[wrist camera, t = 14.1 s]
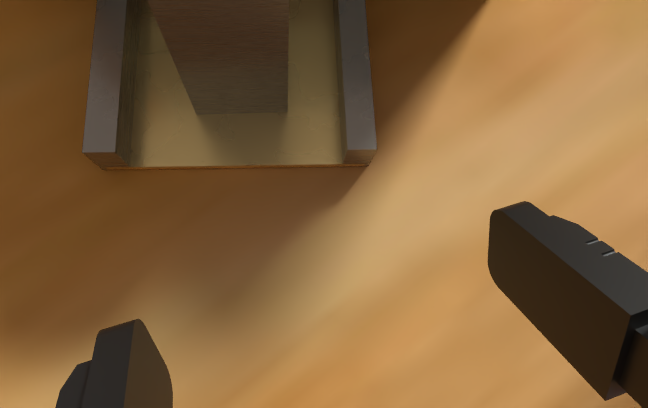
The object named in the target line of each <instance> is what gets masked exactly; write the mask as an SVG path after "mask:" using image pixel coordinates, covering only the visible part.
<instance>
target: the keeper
mask: <svg viewBox="0 0 648 408" xmlns="http://www.w3.org/2000/svg"><path fill="white" fill-rule="evenodd" d="M376 150H377V143H376V130H375V118H374V106H373V93H372V81H371V69H370V56H369V44H368V31H367V19H366V7H365V0H289V48H288V112H268V113H237V114H206V115H196V113H195V110H194V108H193V106H192V103H191V101H190V99H189V96H188V94H187V92H186V89H185V87H184V85H183V82H182V80H181V78H180V75H179V73H178V71H177V68H176V66H175V64H174V61H173V59H172V57H171V54H170V52H169V50H168V47H167V45H166V43H165V40H164V38H163V36H162V33H161V31H160V28H159V26H158V24H157V21H156V19H155V17H154V14H153V12H152V10H151V7H150V5H149V3H148V0H97V6H96V17H95V27H94V37H93V47H92V57H91V67H90V78H89V88H88V98H87V108H86V118H85V128H84V138H83V149H82V153H83V154H85V155H86V156H87V157H88V158H89V159H91V160H92V161H93V162H94V163H95V164H97V165H98V166H99V167H100V168H101V169H102V170H126V169H195V168H265V167H335V166H368V165H369V163H370V162H371V160H372V158H373V156H374V154H375V152H376Z"/></svg>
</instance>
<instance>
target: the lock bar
mask: <svg viewBox="0 0 648 408" xmlns="http://www.w3.org/2000/svg"><path fill="white" fill-rule="evenodd" d="M148 3H149V5H150V7H151V10H152V12H153V14H154V17H155V19H156V21H157V24H158V26H159V28H160V31H161V33H162V36H163V38H164V40H165V43H166V45H167V47H168V50H169V52H170V54H171V57H172V59H173V61H174V64H175V66H176V68H177V71H178V73H179V75H180V78H181V80H182V82H183V85H184V87H185V89H186V92H187V94H188V96H189V99H190V101H191V103H192V106H193V108H194V110H195V113H196V115H206V114H237V113H268V112H288V48H289V0H148Z"/></svg>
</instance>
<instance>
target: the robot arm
mask: <svg viewBox="0 0 648 408" xmlns="http://www.w3.org/2000/svg"><path fill="white" fill-rule="evenodd" d="M488 267H489V271H490V274H491V276H492V278H493V280H494V282H495V284H496V285H497V286H498V288H499V289H500V290H501V291H502V292H503V293H504V294H505V295H506V296H507V297H508V298H509V299H510V300H511V301H512V302H513V303H514V305H515V306H516V307H517V308H518V309H519V310H520V311H521V312H522V313H523V314H524V315H525V316H526V317H527V318H528V319H529V320H530V322H531V323H532V324H533V325H534V326H535V327H536V328H537V329H538V330H539V331H540V332H541V333H542V334H543V335H544V336H545V337H546V338H547V340H548V341H549V342H550V343H551V344H552V345H553V346H554V347H555V348H556V349H557V350H558V351H559V352H560V353H561V354H562V355H563V357H564V358H565V359H566V360H567V361H568V362H569V363H570V364H571V365H572V366H573V367H574V368H575V369H576V370H577V371H578V372H579V374H580V375H581V376H582V377H583V378H584V379H585V380H586V381H587V382H588V383H589V384H590V385H591V386H592V387H593V388H594V389H595V390H596V392H597V393H598V394H599V395H600V396H601V397H602V398H603V399H604V400H605V401H606V400H609V399H611V398H614V397H616V396H619V395H621V394H624V393H626V392H627V393H628V394H629V395H630V396H631V397H632V398H633V399H634V400H635V401H636V402H635V406H634V408H648V272H646V271H645V270H643V269H642V268H641V267H639V266H638V265H636V264H635V263H633V262H632V261H630V260H629V259H628V258H626V257H625V256H623V255H622V254H620V253H619V252H618V253H615V251H614V249H613V248H612V247H610V246H609V245H607V244H606V243H604V242H603V241H599V240H598V238H597V237H596V236H594V235H593V234H591V233H590V232H588V231H587V230H585V229H584V228H583V227H581V226H580V225H578V224H576V223H573V222H570V221H568V220H565V219H562V218H559V217H557V216H554V215H553V216H550V217H549V216H548V215H547V214H545V213H544V212H542V211H541V210H540V209H538V208H537V207H535V206H534V205H533V204H531V203H529V202H526V201H524V202H520V203H517V204H513V205H510V206H507V207H504V208H500V209H497V210H494V211H493V212H492V214H491V216H490V228H489V247H488ZM56 408H173V392H172V384H171V379H170V375H169V372H168V369H167V366H166V364H165V362H164V360H163V358H162V357H161V355H160V353H159V351H158V349H157V347H156V345H155V343H154V342H153V340H152V338H151V336H150V334H149V332H148V330H147V328H146V327H145V325H144V323H143V322H142V321H141V320H140V319H135V320H132V321H129V322H126V323H122V324H119V325H116V326H113V327H109V328H106V329H103V330H100V331H99V333H98V335H97V338H96V343H95V347H94V352H93V357H92V360H90V361H87V362H84V363H81V364H78V365H77V366H76V367H75V369H74V370H73V372H72V373H71V375H70V376H69V378H68V379H67V381H66V382H65V384H64V385H63V387H62V388H61V390H60V393H59V397H58V400H57V404H56Z"/></svg>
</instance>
